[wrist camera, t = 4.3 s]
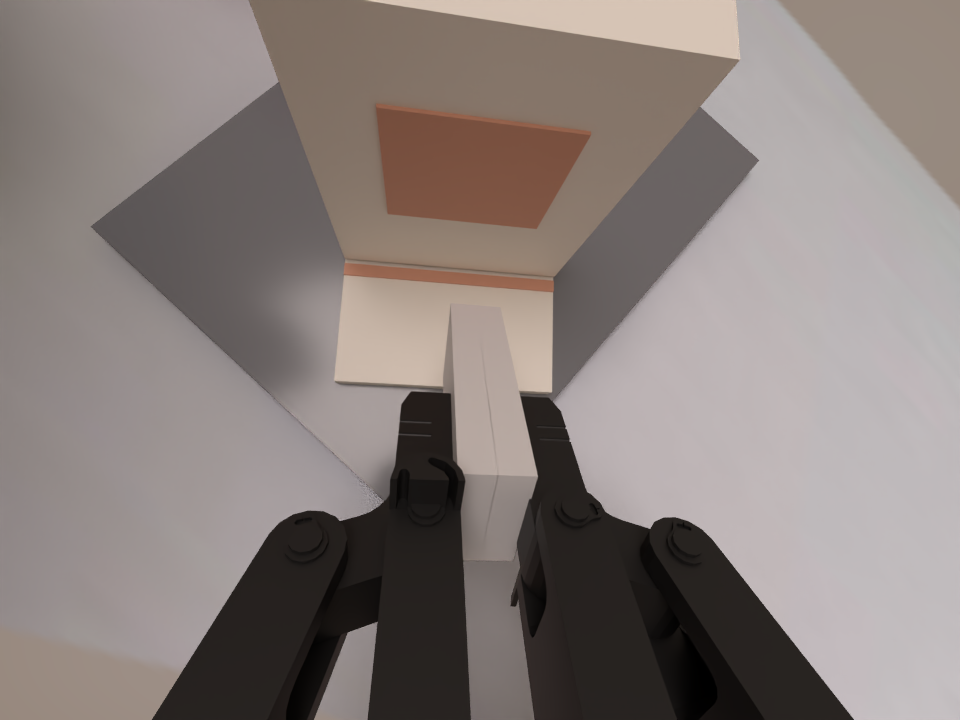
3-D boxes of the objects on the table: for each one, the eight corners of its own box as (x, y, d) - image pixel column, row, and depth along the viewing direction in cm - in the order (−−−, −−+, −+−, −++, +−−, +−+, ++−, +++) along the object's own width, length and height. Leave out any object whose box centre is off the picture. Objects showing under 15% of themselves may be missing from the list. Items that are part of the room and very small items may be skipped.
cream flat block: (554, 278, 21) (740, 64, 9) (344, 260, 19) (241, -14, 8) (554, 246, 21) (735, -3, 9) (347, 226, 20) (251, -88, 8)
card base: (546, 394, 21) (552, 392, 20) (337, 383, 20) (333, 380, 19) (548, 245, 22) (554, 237, 21) (351, 226, 21) (349, 217, 20)
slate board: (106, 237, 20) (90, 226, 19) (488, -62, 26) (491, -82, 25) (429, 538, 20) (429, 543, 19) (745, 171, 25) (758, 160, 24)
